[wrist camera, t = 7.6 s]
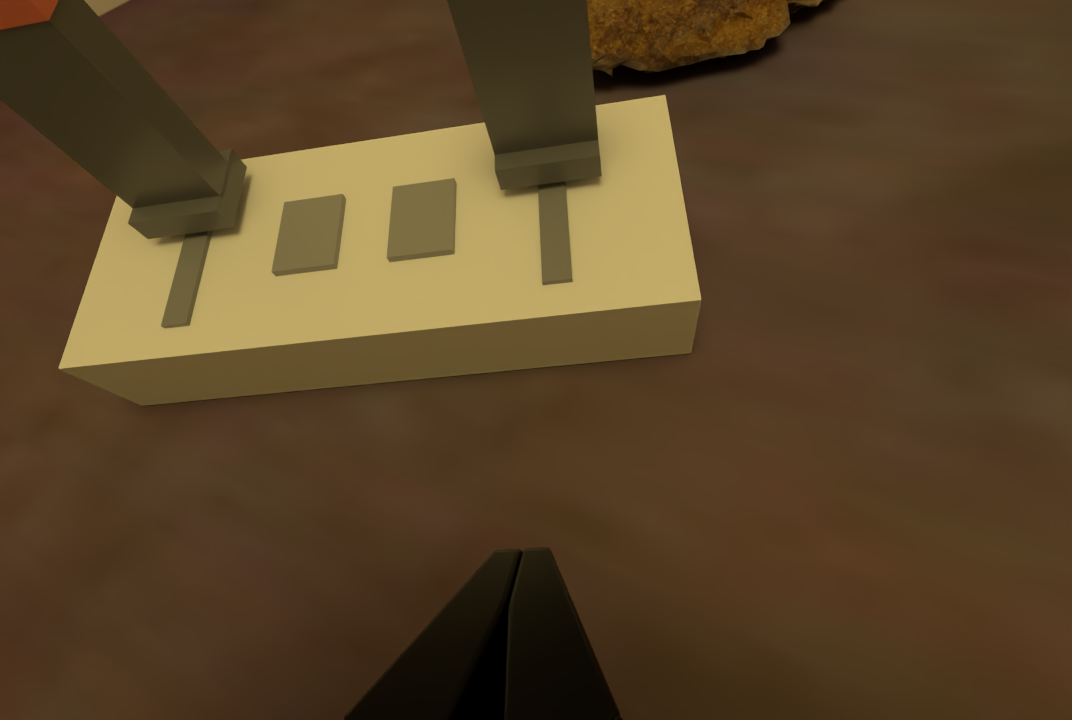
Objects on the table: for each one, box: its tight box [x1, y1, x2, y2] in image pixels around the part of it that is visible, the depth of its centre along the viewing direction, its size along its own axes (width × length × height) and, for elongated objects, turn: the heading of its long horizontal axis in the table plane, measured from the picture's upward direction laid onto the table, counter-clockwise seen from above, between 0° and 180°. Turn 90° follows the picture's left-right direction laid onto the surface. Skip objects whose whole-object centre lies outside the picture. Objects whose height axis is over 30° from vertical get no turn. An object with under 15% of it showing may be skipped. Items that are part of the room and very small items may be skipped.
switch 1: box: [0, 0, 247, 239], centre depth 19 cm, size 3×4×9 cm
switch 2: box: [447, 0, 602, 190], centre depth 17 cm, size 3×4×9 cm
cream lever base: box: [58, 95, 701, 406], centre depth 23 cm, size 9×23×4 cm, turn 92°
